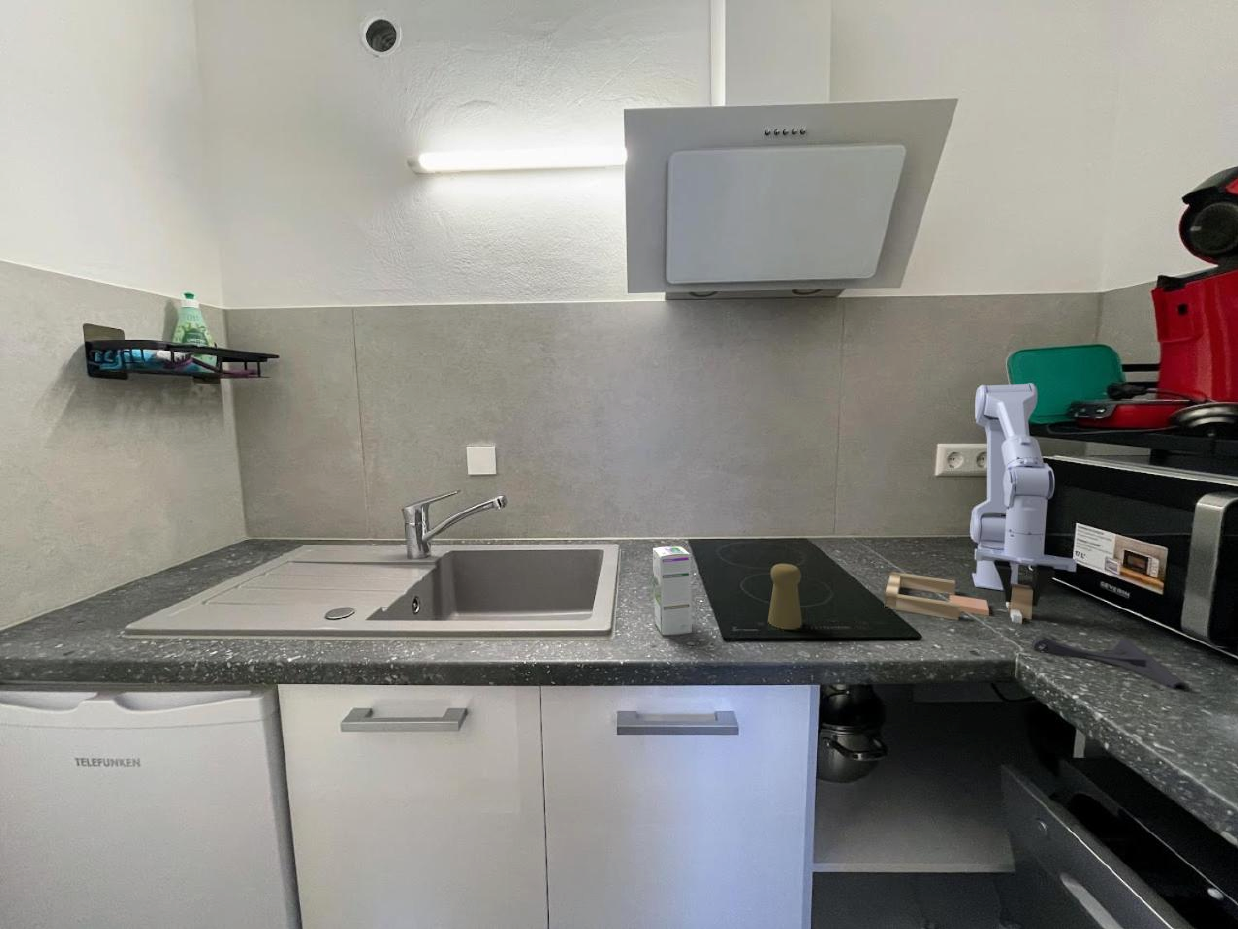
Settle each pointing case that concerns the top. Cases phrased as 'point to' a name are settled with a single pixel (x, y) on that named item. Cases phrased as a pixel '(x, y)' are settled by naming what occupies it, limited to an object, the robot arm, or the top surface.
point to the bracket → (1117, 659)
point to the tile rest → (921, 604)
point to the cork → (785, 597)
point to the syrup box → (672, 590)
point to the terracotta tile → (970, 604)
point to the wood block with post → (1020, 602)
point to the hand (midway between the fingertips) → (1020, 602)
